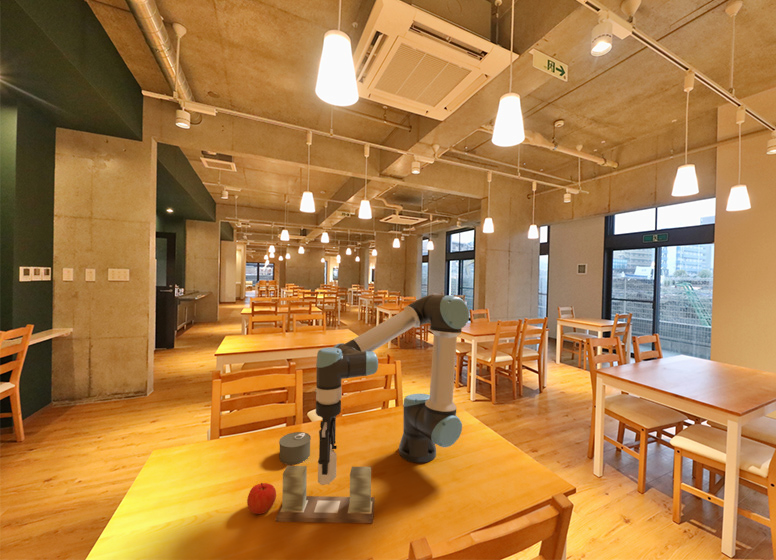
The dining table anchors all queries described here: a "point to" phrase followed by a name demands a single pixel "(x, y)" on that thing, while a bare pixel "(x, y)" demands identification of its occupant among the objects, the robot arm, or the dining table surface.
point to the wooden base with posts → (326, 499)
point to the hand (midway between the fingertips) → (327, 477)
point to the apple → (261, 498)
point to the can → (294, 448)
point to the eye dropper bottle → (332, 466)
